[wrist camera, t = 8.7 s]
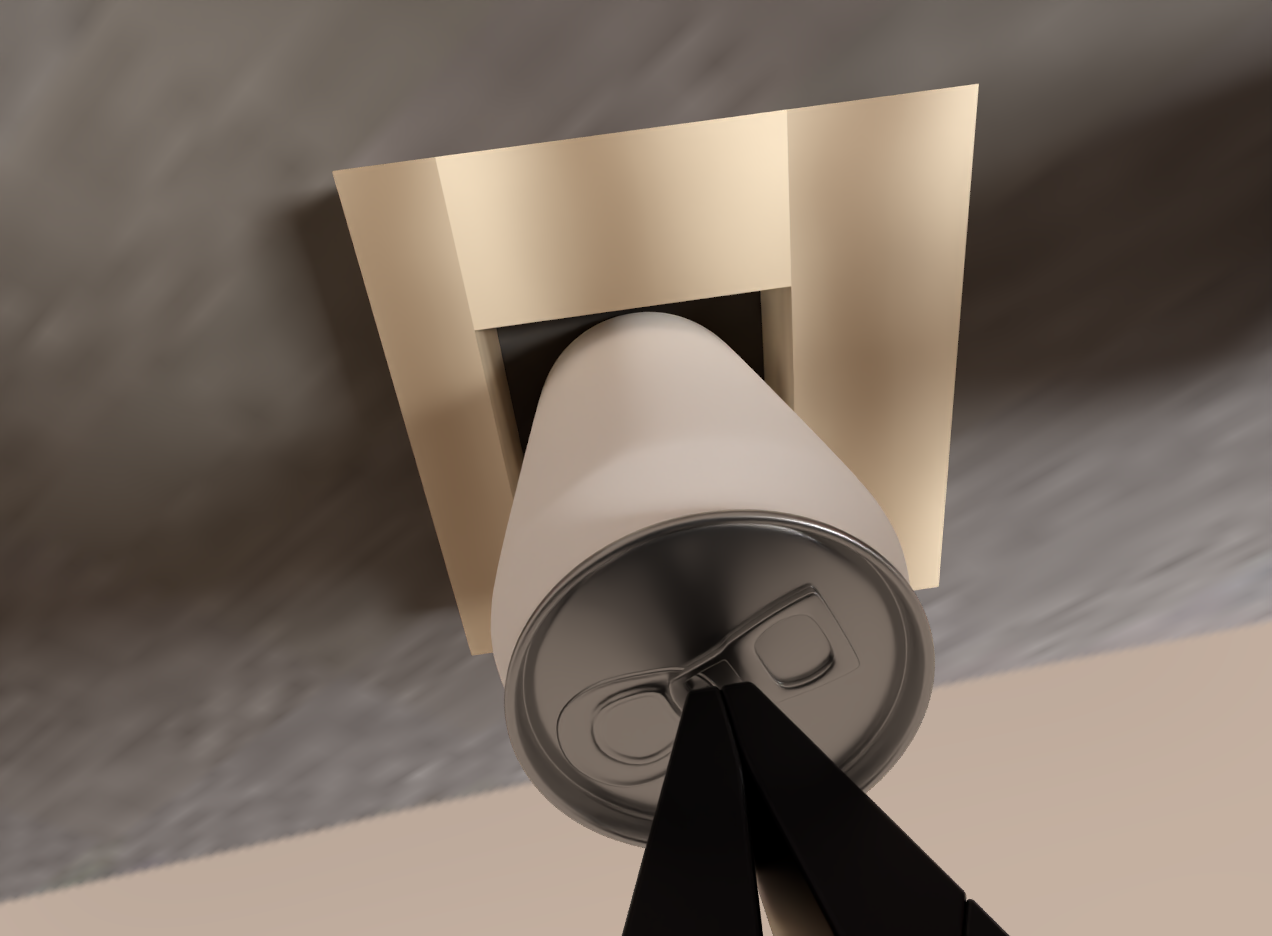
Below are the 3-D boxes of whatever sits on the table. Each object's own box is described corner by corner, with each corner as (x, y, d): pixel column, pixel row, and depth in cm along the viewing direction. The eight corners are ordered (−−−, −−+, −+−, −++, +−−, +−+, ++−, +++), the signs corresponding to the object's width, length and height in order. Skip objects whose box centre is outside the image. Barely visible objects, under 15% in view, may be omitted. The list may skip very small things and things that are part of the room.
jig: (912, 103, 16) (978, 83, 14) (893, 537, 21) (938, 586, 19) (376, 176, 16) (332, 171, 13) (486, 596, 21) (471, 655, 18)
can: (494, 385, 18) (355, 657, 7) (683, 263, 17) (847, 365, 6) (613, 544, 21) (641, 930, 10) (785, 444, 20) (1033, 748, 9)
